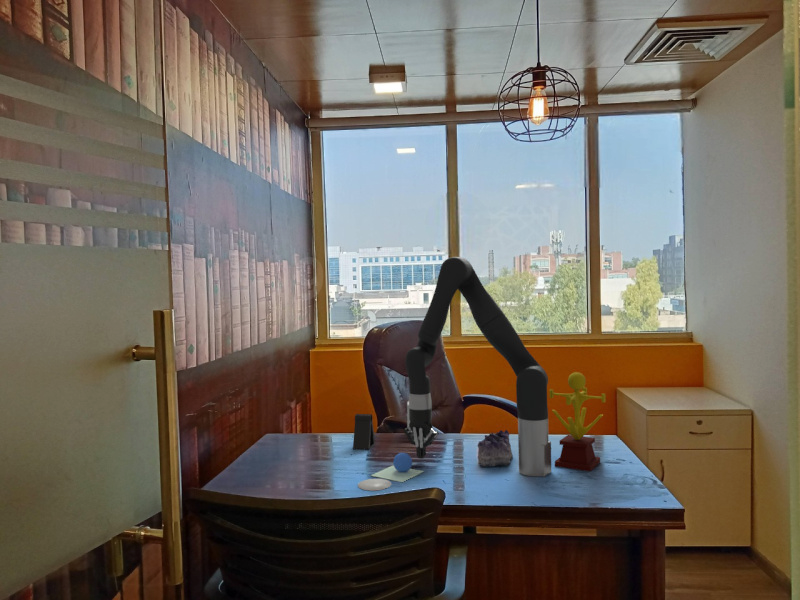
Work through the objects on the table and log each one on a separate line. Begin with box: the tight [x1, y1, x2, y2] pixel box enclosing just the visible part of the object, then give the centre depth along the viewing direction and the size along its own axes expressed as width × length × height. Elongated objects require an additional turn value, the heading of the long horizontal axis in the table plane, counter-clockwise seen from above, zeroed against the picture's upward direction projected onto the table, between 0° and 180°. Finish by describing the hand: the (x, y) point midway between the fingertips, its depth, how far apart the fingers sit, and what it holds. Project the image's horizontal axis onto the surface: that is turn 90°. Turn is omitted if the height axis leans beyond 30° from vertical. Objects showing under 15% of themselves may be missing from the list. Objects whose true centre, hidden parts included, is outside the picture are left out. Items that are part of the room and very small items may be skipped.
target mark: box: [370, 464, 424, 483], centre depth 187 cm, size 12×12×1 cm
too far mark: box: [357, 478, 392, 492], centre depth 177 cm, size 10×10×1 cm
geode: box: [477, 429, 514, 468], centre depth 200 cm, size 20×12×10 cm, turn 164°
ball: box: [393, 452, 413, 472], centre depth 189 cm, size 6×6×6 cm
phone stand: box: [352, 413, 376, 451], centre depth 220 cm, size 9×6×12 cm, turn 166°
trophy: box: [549, 371, 607, 472], centre depth 193 cm, size 14×16×30 cm
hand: (421, 457), depth 199 cm, fingers closed
